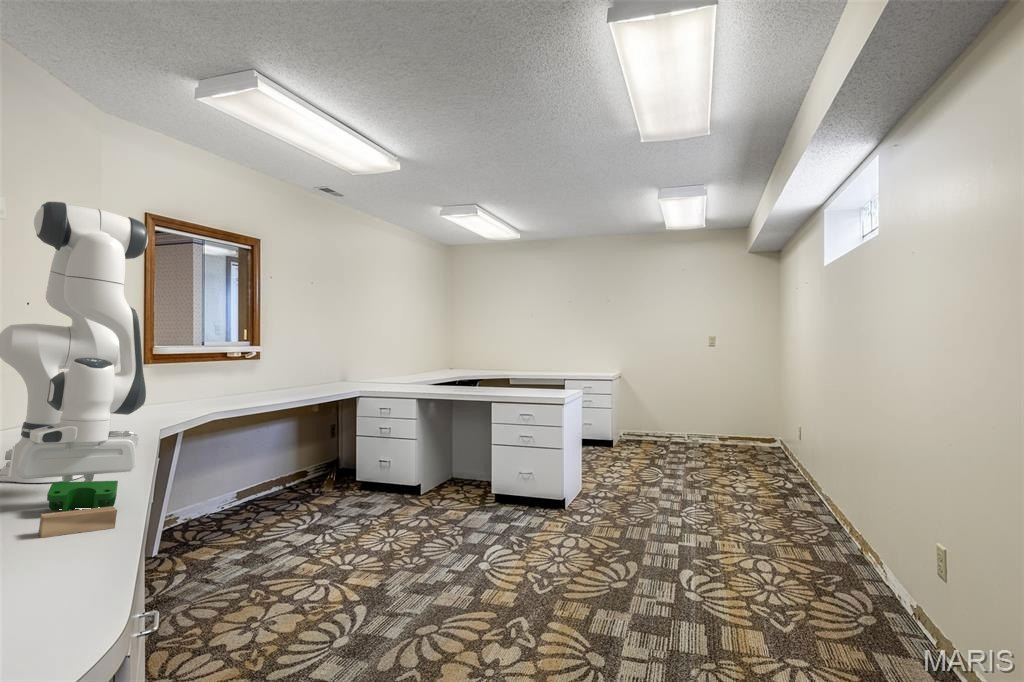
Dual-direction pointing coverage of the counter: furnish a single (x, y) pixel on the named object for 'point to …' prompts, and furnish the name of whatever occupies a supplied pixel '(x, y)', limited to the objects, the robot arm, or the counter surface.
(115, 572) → the counter surface
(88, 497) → the clamp
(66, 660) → the counter surface
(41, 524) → the stop rail
